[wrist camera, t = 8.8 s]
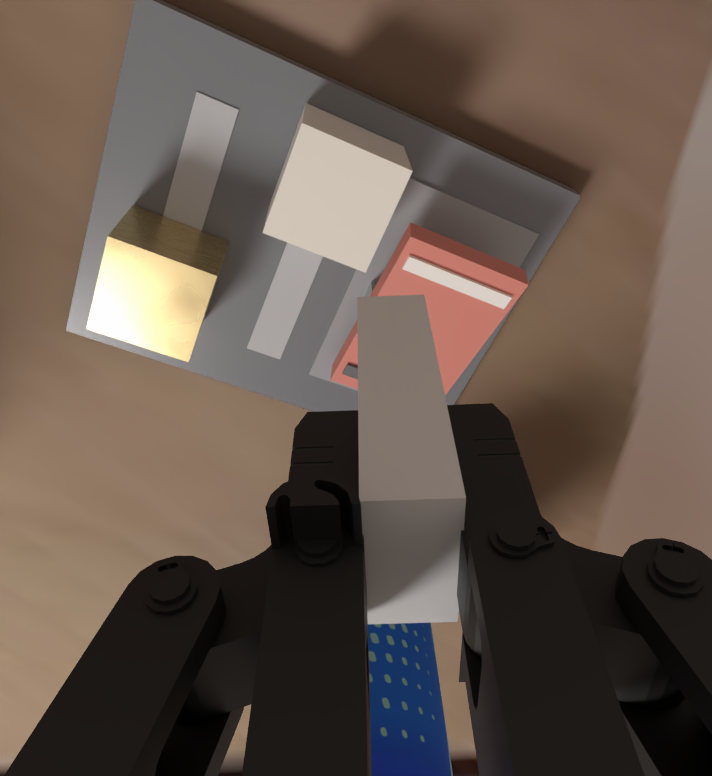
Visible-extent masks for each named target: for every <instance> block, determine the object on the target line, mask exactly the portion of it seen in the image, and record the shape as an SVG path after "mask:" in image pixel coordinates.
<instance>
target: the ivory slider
mask: <svg viewBox="0 0 712 776" xmlns="http://www.w3.org/2000/svg"><path fill="white" fill-rule="evenodd" d="M412 172H413V170H412V168H411V165H410V162H409V159H408V157H407V154H406V151H405V149H404V146H402V145H400V144H397V143H395V142H393V141H391V140H388V139H386V138H384V137H382V136H379V135H377V134H375V133H373V132H370V131H368V130H366V129H364V128H361V127H359V126H357V125H355V124H352V123H350V122H348V121H346V120H343V119H341V118H339V117H337V116H334V115H332V114H330V113H328V112H325V111H323V110H321V109H319V108H316V107H314V106H312V105H310V104H307V103H306V104H305V107H304V109H303V112H302V115H301V118H300V121H299V123H298V126H297V129H296V132H295V135H294V137H293V140H292V143H291V146H290V149H289V151H288V154H287V157H286V160H285V163H284V165H283V168H282V171H281V174H280V177H279V179H278V182H277V185H276V188H275V191H274V193H273V196H272V199H271V202H270V206H269V209H268V213H267V217H266V221H265V225H264V229H263V232H262V233H264V234H267V235H269V236H272V237H274V238H277V239H280V240H282V241H285V242H287V243H290V244H293V245H295V246H298V247H300V248H303V249H305V250H308V251H311V252H313V253H316V254H318V255H321V256H323V257H326V258H329V259H331V260H334V261H336V262H339V263H342V264H344V265H347V266H349V267H352V268H354V269H357V270H360V271H362V272H365V273H366V271H367V269H368V267H369V265H370V262H371V260H372V258H373V256H374V254H375V252H376V249H377V247H378V245H379V243H380V241H381V239H382V237H383V234H384V232H385V230H386V228H387V226H388V224H389V221H390V219H391V217H392V215H393V213H394V211H395V208H396V206H397V204H398V202H399V200H400V198H401V196H402V193H403V191H404V189H405V187H406V185H407V183H408V180H409V178H410V176H411V174H412Z"/></svg>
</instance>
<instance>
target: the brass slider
mask: <svg viewBox="0 0 712 776" xmlns="http://www.w3.org/2000/svg"><path fill="white" fill-rule="evenodd" d="M229 243H230V241H227V240H224V239H222V238H219V237H216V236H214V235H211V234H209V233H206V232H203V231H201V230H198V229H195V228H193V227H190V226H188V225H185V224H182V223H180V222H177V221H174V220H172V219H169V218H166V217H164V216H161V215H159V214H156V213H153V212H151V211H148V210H145V209H143V208H140V207H137V206H135V205H132V207H131V208H130V209H129V210H128V212H127V213H126V214H125V215H124V216H123V218H122V219H121V220H120V221H119V223H118V224H117V225H116V226H115V227H114V229H113V230H112V231H111V232H110V234H109V235H108V236H107V241H106V245H105V249H104V254H103V258H102V262H101V267H100V271H99V276H98V280H97V284H96V289H95V293H94V297H93V302H92V306H91V311H90V315H89V319H88V324H87V328H86V329H89V330H92V331H95V332H98V333H101V334H104V335H107V336H110V337H113V338H116V339H119V340H122V341H125V342H128V343H131V344H134V345H137V346H140V347H143V348H146V349H149V350H152V351H155V352H158V353H161V354H164V355H167V356H171V357H174V358H177V359H180V360H183V361H186V362H189V360H190V357H191V354H192V351H193V348H194V346H195V343H196V340H197V337H198V335H199V332H200V329H201V326H202V323H203V321H204V318H205V315H206V312H207V309H208V306H209V303H210V300H211V297H212V294H213V291H214V288H215V285H216V282H217V279H218V276H219V273H220V270H221V267H222V264H223V261H224V258H225V255H226V252H227V249H228V246H229Z"/></svg>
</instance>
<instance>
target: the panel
mask: <svg viewBox="0 0 712 776" xmlns="http://www.w3.org/2000/svg"><path fill="white" fill-rule="evenodd" d="M306 103H307V104H310V105H312V106H314V107H316V108H319V109H321V110H323V111H325V112H328V113H330V114H332V115H334V116H337V117H339V118H341V119H343V120H346V121H348V122H350V123H352V124H355V125H357V126H359V127H361V128H364V129H366V130H368V131H370V132H373V133H375V134H377V135H379V136H382V137H384V138H386V139H388V140H391V141H393V142H395V143H397V144H400V145H402V146H404V149H405V151H406V154H407V157H408V159H409V162H410V165H411V168H412V170H413V172H412V174H411V176H410V178H409V180H408V183H407V185H406V187H405V189H404V191H403V193H402V196H401V198H400V200H399V202H398V204H397V206H396V208H395V211H394V213H393V215H392V217H391V219H390V221H389V224H388V226H387V228H386V230H385V232H384V234H383V237H382V239H381V241H380V243H379V245H378V247H377V249H376V252H375V254H374V256H373V258H372V260H371V262H370V265H369V267H368V269H367V271H366V273H365V272H362V271H360V270H357V269H354V268H352V267H349V266H347V265H344V264H342V263H339V262H336V261H334V260H331V259H329V258H326V257H323V256H321V255H318V254H316V253H313V252H311V251H308V250H305V249H303V248H300V247H298V246H295V245H293V244H290V243H287V242H285V241H282V240H280V239H277V238H274V237H272V236H269V235H267V234H264V233H262V232H263V229H264V225H265V221H266V217H267V213H268V209H269V206H270V202H271V199H272V196H273V193H274V191H275V188H276V185H277V182H278V179H279V177H280V174H281V171H282V168H283V165H284V163H285V160H286V157H287V154H288V151H289V149H290V146H291V143H292V140H293V137H294V135H295V132H296V129H297V126H298V123H299V121H300V118H301V115H302V112H303V109H304V107H305V104H306ZM580 198H581V196H580V195H579V194H578V193H577V192H576V191H575V190H574V189H573V188H570V187H568V186H566V185H564V184H562V183H560V182H557V181H555V180H553V179H551V178H549V177H546V176H544V175H542V174H540V173H538V172H536V171H533V170H531V169H529V168H527V167H525V166H522V165H520V164H518V163H516V162H514V161H512V160H509V159H507V158H505V157H503V156H501V155H499V154H496V153H494V152H492V151H490V150H488V149H485V148H483V147H481V146H479V145H477V144H475V143H472V142H470V141H468V140H466V139H464V138H461V137H459V136H457V135H455V134H453V133H451V132H448V131H446V130H444V129H442V128H440V127H437V126H435V125H433V124H431V123H429V122H427V121H424V120H422V119H420V118H418V117H416V116H413V115H411V114H409V113H407V112H405V111H403V110H400V109H398V108H396V107H394V106H392V105H390V104H387V103H385V102H383V101H381V100H379V99H376V98H374V97H372V96H370V95H368V94H366V93H363V92H361V91H359V90H357V89H355V88H352V87H350V86H348V85H346V84H344V83H342V82H339V81H337V80H335V79H333V78H331V77H328V76H326V75H324V74H322V73H320V72H318V71H315V70H313V69H311V68H309V67H307V66H304V65H302V64H300V63H298V62H296V61H294V60H291V59H289V58H287V57H285V56H283V55H280V54H278V53H276V52H274V51H272V50H270V49H267V48H265V47H263V46H261V45H259V44H257V43H254V42H252V41H250V40H248V39H246V38H243V37H241V36H239V35H237V34H235V33H233V32H230V31H228V30H226V29H224V28H222V27H219V26H217V25H215V24H213V23H211V22H209V21H206V20H204V19H202V18H200V17H198V16H195V15H193V14H191V13H189V12H187V11H185V10H182V9H180V8H178V7H176V6H174V5H171V4H169V3H167V2H165V1H163V0H135V4H134V9H133V13H132V18H131V23H130V28H129V32H128V37H127V42H126V47H125V51H124V56H123V61H122V66H121V71H120V75H119V80H118V85H117V90H116V94H115V99H114V104H113V109H112V113H111V118H110V123H109V128H108V132H107V137H106V142H105V147H104V152H103V156H102V161H101V166H100V171H99V175H98V180H97V185H96V190H95V194H94V199H93V204H92V209H91V213H90V218H89V223H88V228H87V233H86V237H85V242H84V247H83V252H82V256H81V261H80V266H79V271H78V275H77V280H76V285H75V290H74V294H73V299H72V304H71V309H70V314H69V318H68V323H67V328H66V331H69V332H72V333H75V334H78V335H81V336H84V337H87V338H90V339H93V340H96V341H99V342H102V343H105V344H108V345H111V346H115V347H118V348H121V349H124V350H127V351H130V352H133V353H136V354H139V355H142V356H145V357H148V358H151V359H154V360H157V361H161V362H164V363H167V364H170V365H173V366H176V367H179V368H182V369H185V370H188V371H191V372H194V373H197V374H200V375H203V376H207V377H210V378H213V379H216V380H219V381H222V382H225V383H228V384H231V385H234V386H237V387H240V388H243V389H246V390H249V391H252V392H256V393H259V394H262V395H265V396H268V397H271V398H274V399H277V400H280V401H283V402H286V403H289V404H292V405H295V406H298V407H302V408H305V409H308V410H311V411H314V412H321V411H349V410H358V389H355V388H352V387H349V386H346V385H343V384H340V383H337V382H334V381H331V380H330V379H331V371H332V364H333V363H334V361H335V359H336V357H337V355H338V353H339V352H340V350H341V348H342V346H343V344H344V342H345V341H346V339H347V337H348V335H349V333H350V332H351V330H352V328H353V326H354V324H355V322H356V321H357V297H370V295H371V293H372V291H373V290H374V288H375V286H376V284H377V282H378V280H379V279H380V277H381V275H382V273H383V271H384V270H385V268H386V266H387V264H388V262H389V260H390V259H391V257H392V255H393V253H394V251H395V249H396V248H397V246H398V244H399V242H400V240H401V238H402V237H403V235H404V233H405V231H406V229H407V228H408V226H409V224H410V222H411V223H413V224H416V225H418V226H420V227H423V228H425V229H428V230H430V231H433V232H435V233H437V234H440V235H442V236H445V237H447V238H449V239H452V240H454V241H457V242H459V243H461V244H464V245H466V246H469V247H471V248H473V249H476V250H478V251H481V252H483V253H486V254H488V255H490V256H493V257H495V258H498V259H500V260H502V261H505V262H507V263H510V264H512V265H514V266H517V267H519V268H522V269H524V270H525V271H526V276H527V280H528V283H529V281H530V279H531V278H532V276H533V274H534V273H535V271H536V270H537V268H538V266H539V265H540V263H541V261H542V260H543V258H544V257H545V255H546V253H547V252H548V250H549V248H550V247H551V245H552V243H553V242H554V240H555V239H556V237H557V235H558V234H559V232H560V230H561V229H562V227H563V225H564V224H565V222H566V221H567V219H568V217H569V216H570V214H571V212H572V211H573V209H574V208H575V206H576V204H577V203H578V201H579V199H580ZM132 205H135V206H137V207H140V208H143V209H145V210H148V211H151V212H153V213H156V214H159V215H161V216H164V217H166V218H169V219H172V220H174V221H177V222H180V223H182V224H185V225H188V226H190V227H193V228H195V229H198V230H201V231H203V232H206V233H209V234H211V235H214V236H216V237H219V238H222V239H224V240H227V241H230V243H229V246H228V249H227V252H226V255H225V258H224V261H223V264H222V267H221V270H220V273H219V276H218V279H217V282H216V285H215V288H214V291H213V294H212V297H211V300H210V303H209V306H208V309H207V312H206V315H205V318H204V321H203V323H202V326H201V329H200V332H199V335H198V337H197V340H196V343H195V346H194V348H193V351H192V354H191V357H190V360H189V362H186V361H183V360H180V359H177V358H174V357H171V356H167V355H164V354H161V353H158V352H155V351H152V350H149V349H146V348H143V347H140V346H137V345H134V344H131V343H128V342H125V341H122V340H119V339H116V338H113V337H110V336H107V335H104V334H101V333H98V332H95V331H92V330H89V329H86V328H87V324H88V319H89V315H90V311H91V306H92V302H93V297H94V293H95V289H96V284H97V280H98V276H99V271H100V267H101V262H102V258H103V254H104V249H105V245H106V241H107V236H108V235H109V234H110V232H111V231H112V230H113V229H114V227H115V226H116V225H117V224H118V223H119V221H120V220H121V219H122V218H123V216H124V215H125V214H126V213H127V212H128V210H129V209H130V208H131V207H132ZM518 299H519V298H518ZM517 301H518V300H517ZM517 301H516V302H517ZM516 302H515V304H516ZM515 304H514V305H515ZM514 305H513V306H512V308H511V309H510V310H509V312H508V313H507V314H506V316H505V317H504V318H503V320H502V321H501V322H500V324H499V325H498V326H497V328H496V329H495V330H494V332H493V333H492V334H491V335H490V337H489V338H488V339H487V341H486V342H485V343H484V345H483V346H482V347H481V349H480V350H479V351H478V353H477V354H476V355H475V357H474V358H473V359H472V361H471V362H470V363H469V365H468V366H467V367H466V369H465V370H464V371H463V373H462V374H461V375H460V377H459V378H458V379H457V381H456V382H455V383H454V385H453V386H452V387H451V389H450V390H449V391H448V393H447V394H446V395H445V398H446V403H447V405H454V403H455V402H456V400H457V399H458V397H459V395H460V394H461V392H462V390H463V389H464V387H465V386H466V384H467V382H468V381H469V379H470V377H471V376H472V374H473V372H474V371H475V369H476V368H477V366H478V364H479V363H480V361H481V359H482V358H483V356H484V354H485V353H486V351H487V350H488V348H489V346H490V345H491V343H492V341H493V340H494V338H495V337H496V335H497V333H498V332H499V330H500V328H501V327H502V325H503V323H504V322H505V320H506V319H507V317H508V315H509V314H510V312H511V310H512V309H513V307H514Z"/></svg>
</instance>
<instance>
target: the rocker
mask: <svg viewBox="0 0 712 776" xmlns="http://www.w3.org/2000/svg"><path fill="white" fill-rule="evenodd" d="M528 285H529V284H528V280H527V276H526V271H525V270H524V269H522V268H519V267H517V266H514V265H512V264H510V263H507V262H505V261H502V260H500V259H498V258H495V257H493V256H490V255H488V254H486V253H483V252H481V251H478V250H476V249H473V248H471V247H469V246H466V245H464V244H461V243H459V242H457V241H454V240H452V239H449V238H447V237H445V236H442V235H440V234H437V233H435V232H433V231H430V230H428V229H425V228H423V227H420V226H418V225H416V224H413V223H411V222H410V224H409V226H408V228H407V229H406V231H405V233H404V235H403V237H402V238H401V240H400V242H399V244H398V246H397V248H396V249H395V251H394V253H393V255H392V257H391V259H390V260H389V262H388V264H387V266H386V268H385V270H384V271H383V273H382V275H381V277H380V279H379V280H378V282H377V284H376V286H375V288H374V290H373V291H372V293H371V295H370V297H374V296H399V295H424V296H425V301H426V306H427V311H428V315H429V320H430V325H431V330H432V335H433V340H434V345H435V349H436V354H437V359H438V364H439V369H440V374H441V379H442V383H443V388H444V393H445V395H446V394H447V393H448V391H449V390H450V389H451V387H452V386H453V385H454V383H455V382H456V381H457V379H458V378H459V377H460V375H461V374H462V373H463V371H464V370H465V369H466V367H467V366H468V365H469V363H470V362H471V361H472V359H473V358H474V357H475V355H476V354H477V353H478V351H479V350H480V349H481V347H482V346H483V345H484V343H485V342H486V341H487V339H488V338H489V337H490V335H491V334H492V333H493V332H494V330H495V329H496V328H497V326H498V325H499V324H500V322H501V321H502V320H503V318H504V317H505V316H506V314H507V313H508V312H509V310H510V309H511V308H512V306H513V305H514V304H515V302H516V301H517V300H518V298H519V297H520V296H521V294H522V293H523V292H524V290H525V289H526V288H527V286H528ZM330 380H331V381H334V382H337V383H340V384H343V385H346V386H349V387H352V388H355V389H358V334H357V321H356V322H355V324H354V326H353V328H352V330H351V332H350V333H349V335H348V337H347V339H346V341H345V342H344V344H343V346H342V348H341V350H340V352H339V353H338V355H337V357H336V359H335V361H334V363H333V364H332V371H331V379H330Z"/></svg>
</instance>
